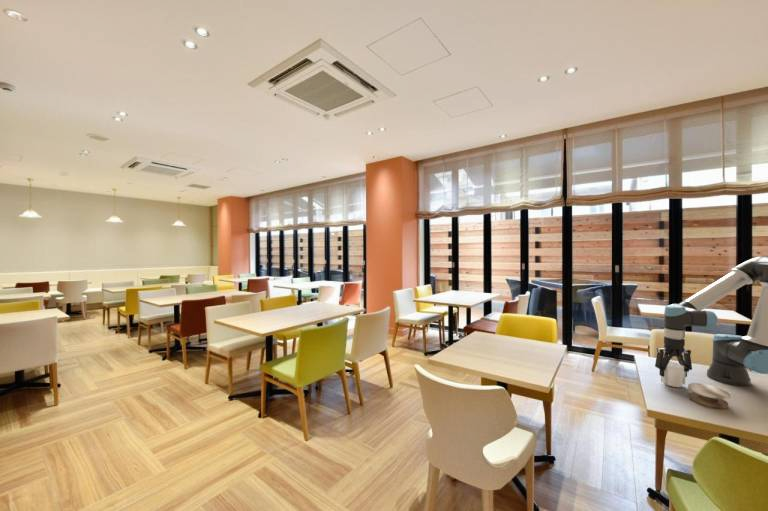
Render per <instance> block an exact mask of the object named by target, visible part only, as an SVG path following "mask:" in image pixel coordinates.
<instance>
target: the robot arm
mask: <svg viewBox="0 0 768 511" xmlns="http://www.w3.org/2000/svg"><path fill="white" fill-rule="evenodd" d="M758 281H759V282H758ZM755 282H758V283H759V284H760V285H761V287H762V288H761V291H760V295H759V297H758V300H757V304H756V306H755V309H754V312H753V316H752V319H751V322H750V324H749V328H748V330H747V334H746V335H744V336H742V335H737V334H729V333H728V334H727V333H715V334H714V335H713V338H712V359H711V363H710V365H709V368H707V370H706V376H707V377H708V378H710V379H712V380H714V381H717V382H721V383H722V384H723V383H724V384H728V385H732V386H738V387H740V386H741V387H748V386H750V385H751V382H752V380H751V377H750V375H749V372H748V370H749V371H752V372H755V373H758V374H764V375H766V374H767V375H768V255H758V256H756V257H752V258H750V259H748V260H745V261H744V262H742V263H740V264H737V265H736V266H734V267H733V268H731V269H730V270H729V273H727V274H726V275H724V276H723V277H720V278H719V279H718V280H716V281H715V282H712V283H711V284H709V285H708V286H706V287H705V288H703V289H701V290H700V291H698V292H696V293H695V294H693V295H692V296H690V297H689V298H687V299H685V300H683V301H681V302H679V303H672V304H669V305H666V306H664V313H663V316H664V320H663V322H664V323H663V324H664V325H663V326H664V328H663V335H664V337H663V345H664V346H663V347H661V348H660V347H657V348H656V350H657V351H656V352H657V354H656V359H655V364H654V366H655V368H657V369H659V372H658V374H659V376H660V382H661V383H663V384H665V385H667V371H666V370H665V369H666V367H667V365H668V363H669V362H671V359H672V358H673V357H675V358H676V360H677V361H678V362H677V363H679V364H680V365H682V366H684V377H683V381H682V382H683V383H682V385H683V386H684V385H686V378H687V377H688V373H689V372H690V371H692V370H693V366H692V357H691V354H692V350H690V349H688V348H687V347H686V348H685V343H686V342H685V341H686V339H685V338H686V327H700V328H701V327H702V328H703V327H704V328H710V327H711V328H713V327H715V326H717V324H718V322H719V321H718V316H717V314H716V312H714V311H712V310H704V309H707V308H708V307H709V306H712V305H713V304H715V303H716V302H718V301H720V300H721V299H724V297H727V296H728V295H731V293H734V292H735V291H737V290H739V289H740V288H742V287H743V286H745V285H751V284H754V283H755Z"/></svg>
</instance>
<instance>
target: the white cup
mask: <svg viewBox="0 0 768 511" xmlns="http://www.w3.org/2000/svg"><path fill="white" fill-rule="evenodd" d="M665 370H666V371H667V384H666V385H667V386H670V387H673V388H682V387H683V384H682V383H683V382H682V381H683V377H684V366H682V365H680V364H679V362H676V361H675V362H674V361H669V363H668V365H667V367H666V369H665Z"/></svg>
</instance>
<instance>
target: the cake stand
mask: <svg viewBox="0 0 768 511" xmlns="http://www.w3.org/2000/svg"><path fill="white" fill-rule="evenodd" d="M687 388H688V390H689V391H691V392H689V395H688V397H689V398H688V399H689V400H690V401H692V402H693V403H696V404H698V405H701V406H704V407H706V408H711V409H715V410H728V408H729V402H728V401H727V400H730V399H731V393H729V392H728V391H727V390H725V389H723V388H719V387H717V386H715V385H710V384H705V383H699V382H695V383H694V382H692V383H688V384H687Z"/></svg>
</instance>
